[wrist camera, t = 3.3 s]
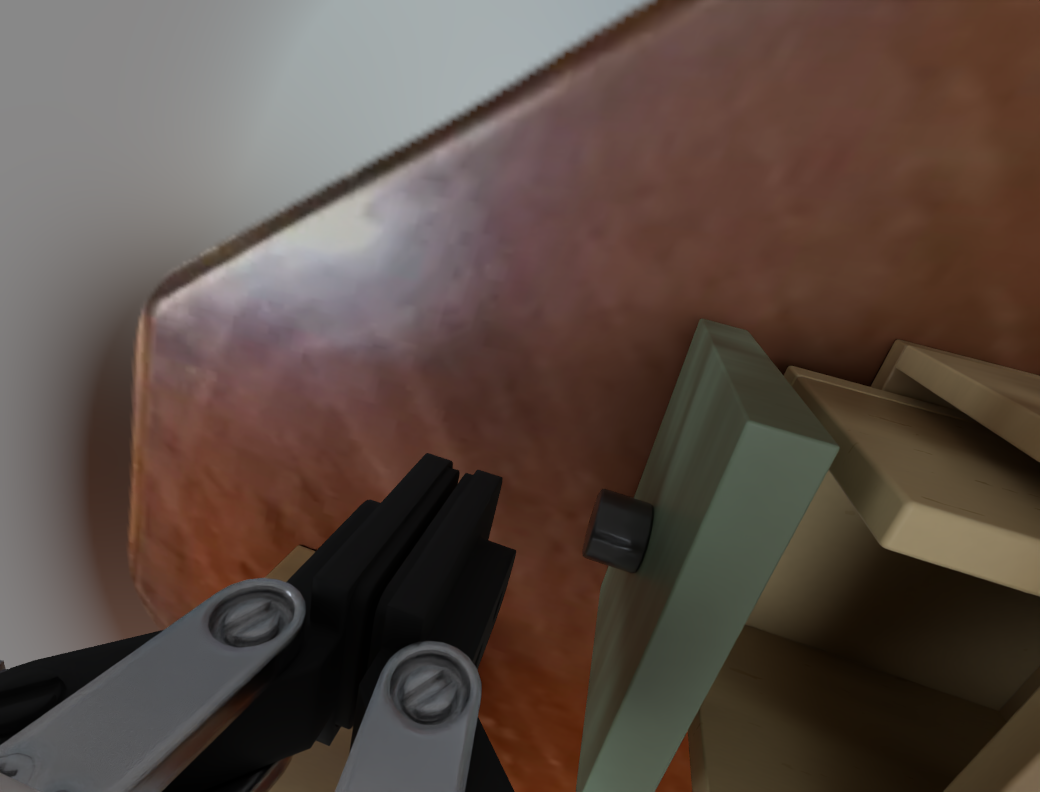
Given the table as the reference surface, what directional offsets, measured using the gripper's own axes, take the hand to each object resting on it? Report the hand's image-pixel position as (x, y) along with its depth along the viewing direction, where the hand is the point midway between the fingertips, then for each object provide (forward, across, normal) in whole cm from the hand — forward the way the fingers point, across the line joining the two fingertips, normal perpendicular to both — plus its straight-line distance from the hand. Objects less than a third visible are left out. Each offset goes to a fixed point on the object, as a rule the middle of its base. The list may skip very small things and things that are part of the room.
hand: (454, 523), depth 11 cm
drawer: (+5, -9, 0) cm, 10 cm away
